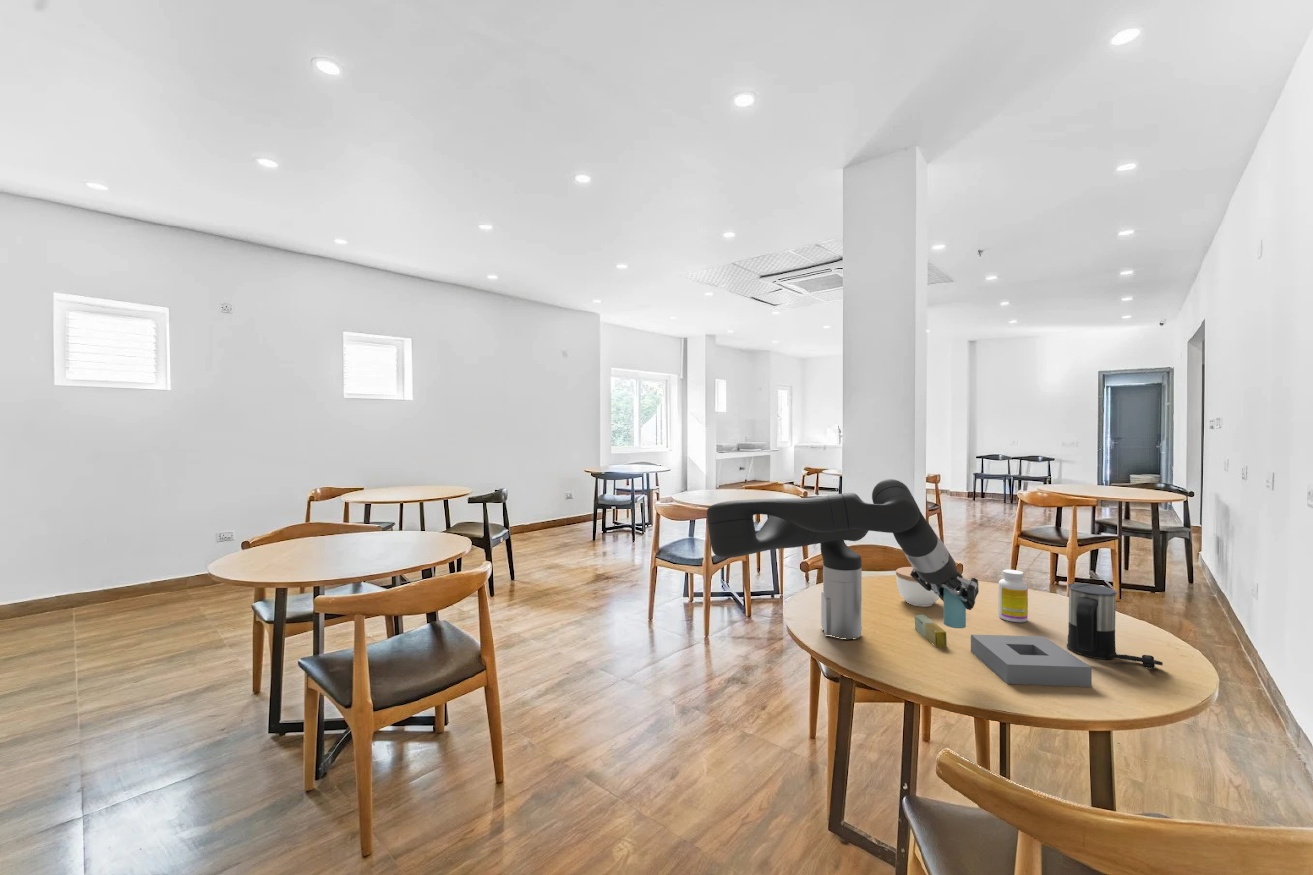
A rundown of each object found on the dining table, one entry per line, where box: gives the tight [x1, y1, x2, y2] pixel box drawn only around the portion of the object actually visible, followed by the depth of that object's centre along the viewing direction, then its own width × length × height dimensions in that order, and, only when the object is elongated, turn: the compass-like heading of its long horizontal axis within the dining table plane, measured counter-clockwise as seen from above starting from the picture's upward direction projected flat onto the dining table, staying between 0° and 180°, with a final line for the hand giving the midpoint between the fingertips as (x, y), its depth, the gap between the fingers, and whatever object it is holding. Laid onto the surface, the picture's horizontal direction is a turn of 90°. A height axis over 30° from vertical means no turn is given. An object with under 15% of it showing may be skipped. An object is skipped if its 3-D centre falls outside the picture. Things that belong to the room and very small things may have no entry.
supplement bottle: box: [997, 569, 1029, 623], centre depth 149 cm, size 7×7×13 cm
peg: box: [943, 588, 967, 629], centre depth 119 cm, size 4×4×10 cm
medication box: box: [914, 613, 948, 648], centre depth 137 cm, size 12×3×4 cm, turn 178°
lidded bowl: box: [895, 566, 940, 608], centre depth 163 cm, size 13×13×11 cm
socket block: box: [970, 634, 1093, 688], centre depth 120 cm, size 16×16×4 cm
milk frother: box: [1066, 582, 1164, 669], centre depth 124 cm, size 14×16×15 cm
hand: (959, 603), depth 120 cm, fingers closed on peg, 4 cm apart
